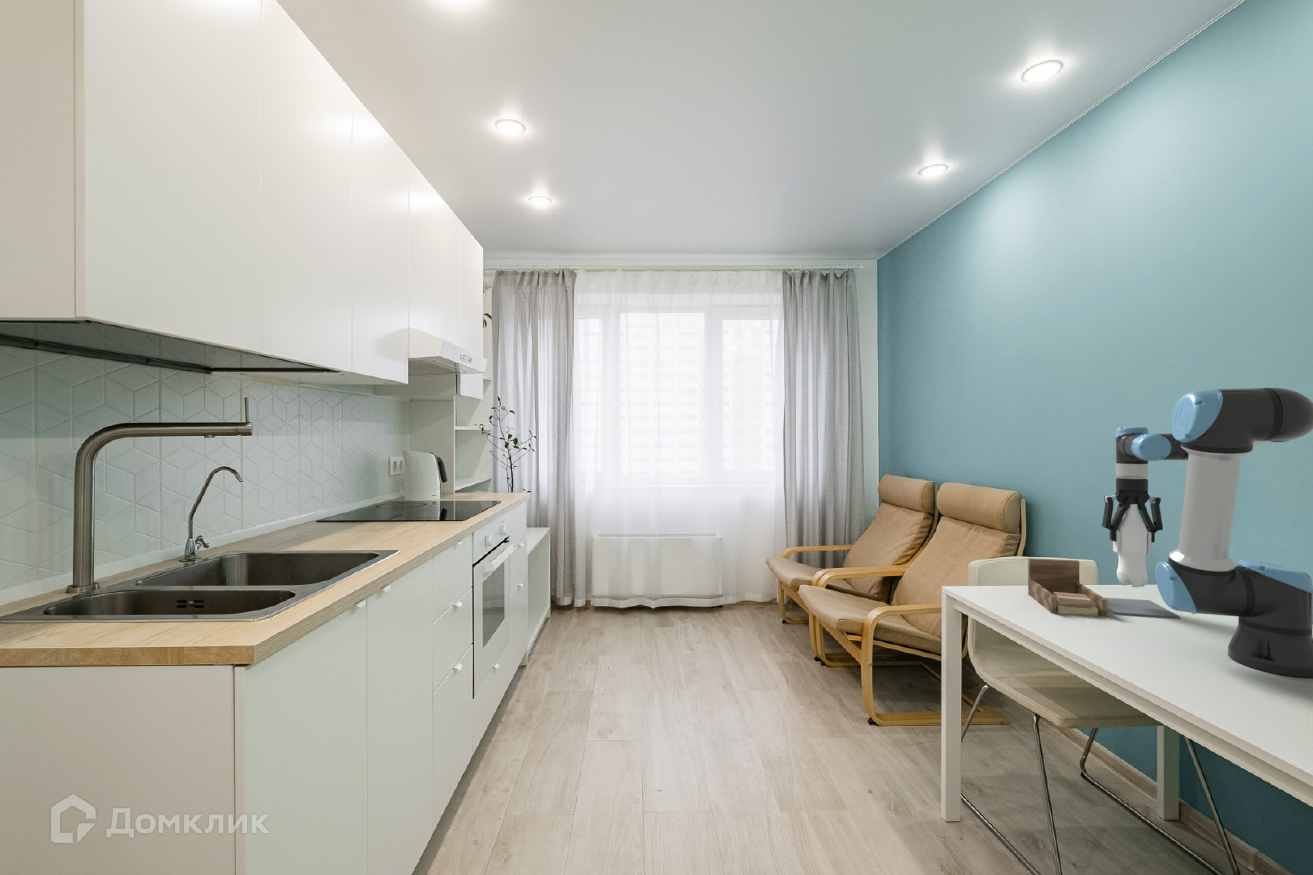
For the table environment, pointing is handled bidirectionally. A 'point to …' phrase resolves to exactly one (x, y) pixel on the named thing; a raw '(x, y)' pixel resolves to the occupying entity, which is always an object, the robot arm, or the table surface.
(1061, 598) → the offcut upper
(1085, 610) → the offcut lower
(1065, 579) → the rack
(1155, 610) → the mat
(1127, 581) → the water bottle
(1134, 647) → the table surface
